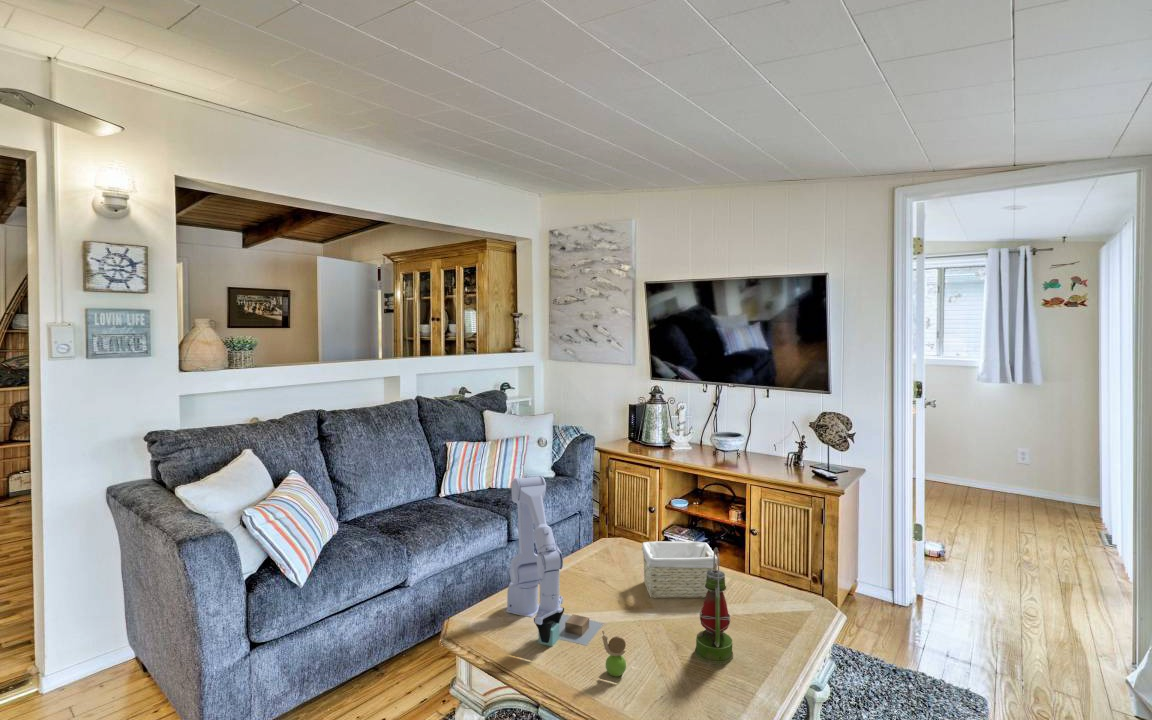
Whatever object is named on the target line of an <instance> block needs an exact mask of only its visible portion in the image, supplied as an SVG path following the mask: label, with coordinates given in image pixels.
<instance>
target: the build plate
mask: <svg viewBox="0 0 1152 720" xmlns="http://www.w3.org/2000/svg"><path fill="white" fill-rule="evenodd" d="M571 616H572V615H568V614H564V613H563V614H562V616H561V619H560V622H559V640H562V641H566V642H570V643H574V644H578V645H583V646H588V645H589V644H590V642H591V641H592V640H593V639H594V637H595V636H596V634H597V633H598V632H599V630H600V629H601V628H602V627H603V625H604V624H605V623H604V622H601V621H595V620H591V619H589V628H588V629H587V631H586V632H585V633H584V634H583V636H580V635H576V634H571V633H567V632H565V622H566V621H567V620H568V619H569V618H570V617H571Z"/></svg>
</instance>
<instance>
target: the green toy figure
mask: <svg viewBox="0 0 1152 720" xmlns="http://www.w3.org/2000/svg"><path fill="white" fill-rule="evenodd" d="M601 633H602V636H601V638H602V642H603V646H604V650H605V651H606V653H607V654H608V655H609V656H608V657H606V660H605V669H606V672H607V673H608V674H609V675H610V676H611V677H616V678H617V677H620V676H622V675H623V674H624V673H625V671H626V669H627V662H626V659H625V657H624V656H623V655H624V654H626V650H625V649H626V641H625V639H624V638H623V637H621V636H618V635H616V636H614V637H612V638H610V640H609V641H608V636H607V635H606V634H605V630H602V632H601Z"/></svg>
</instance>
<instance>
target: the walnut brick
mask: <svg viewBox="0 0 1152 720" xmlns="http://www.w3.org/2000/svg"><path fill="white" fill-rule="evenodd" d="M570 616H571V617H570V618H569V619H568V620H567V621H566V622H565V632H567V633H571V634H576V635H580V636H583V634H584V633H585V632H586V631H587V629H588V628H589V620H590V617H587V616H583V615H579V614H578V615H577V614H574V613H573V614H572V613H571V615H570Z"/></svg>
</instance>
